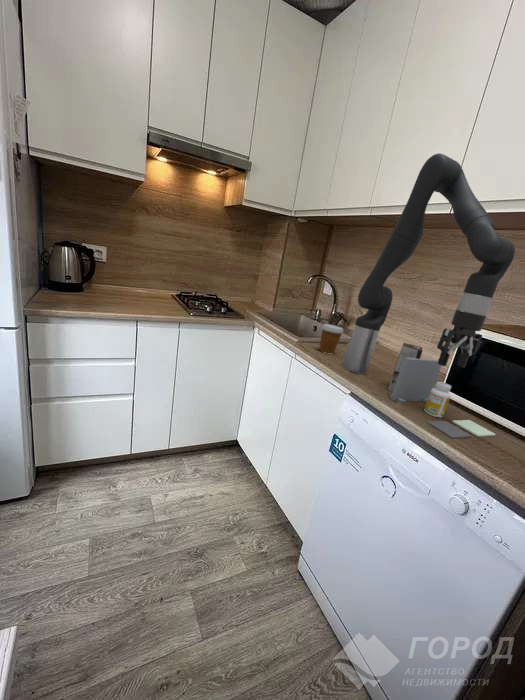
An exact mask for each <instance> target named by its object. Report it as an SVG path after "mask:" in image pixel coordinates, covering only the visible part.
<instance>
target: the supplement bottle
mask: <svg viewBox="0 0 525 700" xmlns="http://www.w3.org/2000/svg"><path fill="white" fill-rule="evenodd" d="M451 389H452V385H451V384H448V383H446V382H442V381H436V382H435V387H433V388H432V389H431V392H430V394H429V397H428V400H427V403H425V405H424V408H423V410H424V412H425V413H426V414H428V415H429V416H432V417H434V418H443V417H444V414H445V412H446V410H447V407H448V404H449V402H450V399H451V393H450V392H451Z"/></svg>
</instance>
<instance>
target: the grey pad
mask: <svg viewBox="0 0 525 700" xmlns="http://www.w3.org/2000/svg"><path fill="white" fill-rule="evenodd" d="M426 424H427V425H429V426H431V427H433V428H434V429H436V430H438V431H439V432H441V433H442V434H443V435H445V436H447V437H449V438H450V439H452V440H453V439H465V438H467V439H468V438H472V437H473V435H471V434H469V433H468V432H465V431H464V430H463V429H462V428H461V429H460V428H459V427H457V426H455V425H454V424H452V423H450V422H448V421H447V420H436V421H435V420H433V421H432V420H431V421H429V420H428V421H426Z"/></svg>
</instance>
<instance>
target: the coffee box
mask: <svg viewBox="0 0 525 700" xmlns="http://www.w3.org/2000/svg"><path fill="white" fill-rule="evenodd" d="M422 353H423V347H422V346H418V345H415V344H411V343H405V342H403V344H402V346H401V350H400V353H399V355H398V357H397V362H396V363H395V366H394V370H393V373H392V377H391V380H390V382H389V386H388V388H387V389H388V391H391V392H393V390H394V387H395V384H396V381H397V378H398V375H399V372H400V369H401V366H402V363H403V360H404V358H416V359H421V357H422Z"/></svg>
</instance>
